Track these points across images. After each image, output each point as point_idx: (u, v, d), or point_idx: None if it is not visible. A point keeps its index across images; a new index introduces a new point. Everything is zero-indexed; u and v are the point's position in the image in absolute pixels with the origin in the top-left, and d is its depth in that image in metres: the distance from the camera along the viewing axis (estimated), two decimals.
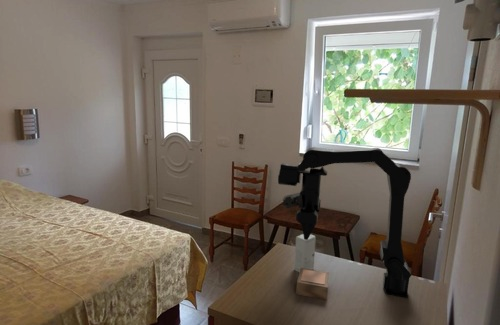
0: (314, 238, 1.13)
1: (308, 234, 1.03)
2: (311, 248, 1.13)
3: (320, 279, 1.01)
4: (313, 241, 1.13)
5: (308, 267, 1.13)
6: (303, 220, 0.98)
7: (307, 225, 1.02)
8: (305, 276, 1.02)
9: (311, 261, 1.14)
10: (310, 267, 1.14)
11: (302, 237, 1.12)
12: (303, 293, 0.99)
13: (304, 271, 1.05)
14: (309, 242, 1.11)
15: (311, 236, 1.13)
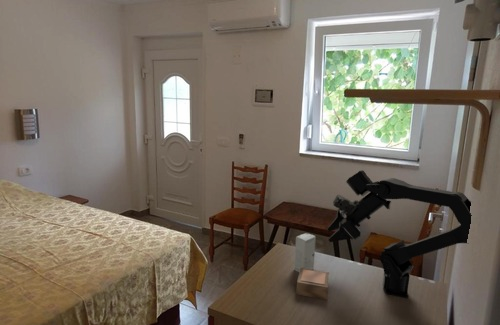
0: (314, 238, 1.13)
1: (335, 239, 1.06)
2: (311, 248, 1.13)
3: (320, 279, 1.01)
4: (313, 241, 1.13)
5: (308, 267, 1.13)
6: (348, 230, 1.00)
7: (342, 233, 1.04)
8: (305, 276, 1.02)
9: (311, 261, 1.14)
10: (310, 267, 1.14)
11: (302, 237, 1.12)
12: (303, 293, 0.99)
13: (304, 271, 1.05)
14: (309, 242, 1.11)
15: (311, 236, 1.13)
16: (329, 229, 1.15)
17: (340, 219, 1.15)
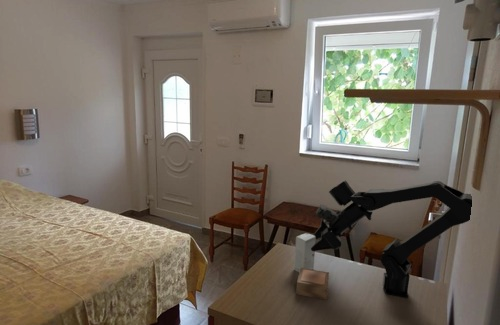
0: (314, 238, 1.13)
1: (317, 249, 1.07)
2: None
3: (320, 279, 1.01)
4: (313, 241, 1.13)
5: (308, 267, 1.13)
6: (329, 240, 1.02)
7: (324, 243, 1.06)
8: (305, 276, 1.02)
9: (311, 261, 1.14)
10: (310, 267, 1.14)
11: (302, 237, 1.12)
12: (303, 293, 0.99)
13: (304, 271, 1.05)
14: (309, 242, 1.11)
15: (311, 236, 1.13)
16: None
17: (324, 228, 1.16)
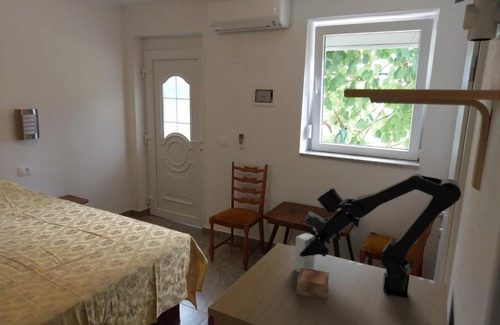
0: None
1: (306, 254, 1.09)
2: None
3: (320, 279, 1.01)
4: None
5: (308, 267, 1.13)
6: (316, 247, 1.03)
7: (312, 248, 1.08)
8: (305, 276, 1.02)
9: (311, 261, 1.14)
10: (310, 267, 1.14)
11: (302, 237, 1.12)
12: (303, 293, 0.99)
13: (304, 271, 1.05)
14: (309, 242, 1.11)
15: (311, 236, 1.13)
16: None
17: None
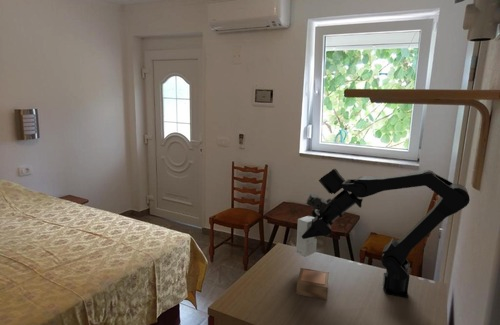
0: None
1: (308, 236, 1.08)
2: None
3: (320, 279, 1.01)
4: None
5: (310, 250, 1.11)
6: (319, 227, 1.01)
7: (314, 230, 1.06)
8: (305, 276, 1.02)
9: (313, 244, 1.12)
10: (312, 250, 1.12)
11: (304, 219, 1.10)
12: (303, 293, 0.99)
13: (304, 271, 1.05)
14: (311, 224, 1.09)
15: None
16: None
17: None
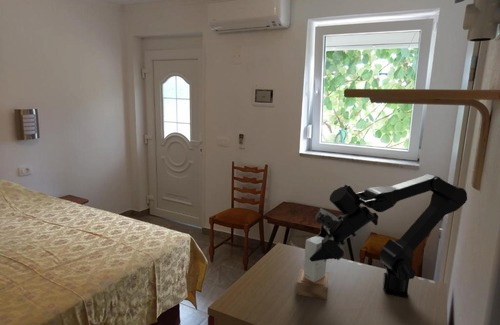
0: None
1: (317, 259, 0.96)
2: None
3: (320, 279, 1.01)
4: None
5: (319, 274, 1.00)
6: (330, 249, 0.90)
7: (324, 252, 0.94)
8: None
9: (323, 267, 1.01)
10: (321, 274, 1.01)
11: (313, 240, 0.99)
12: (303, 293, 0.99)
13: None
14: (320, 246, 0.99)
15: None
16: None
17: (324, 235, 1.05)
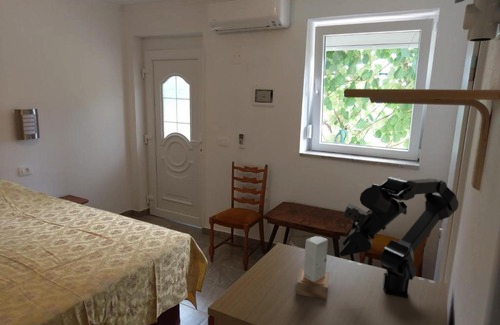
0: (326, 241, 1.01)
1: (346, 253, 0.95)
2: (323, 253, 1.00)
3: (320, 279, 1.01)
4: (325, 244, 1.01)
5: (319, 274, 1.00)
6: (356, 241, 0.90)
7: (353, 246, 0.94)
8: None
9: (323, 267, 1.01)
10: (321, 274, 1.01)
11: (313, 240, 0.99)
12: (303, 293, 0.99)
13: None
14: (320, 246, 0.99)
15: (323, 239, 1.00)
16: (344, 243, 1.05)
17: None
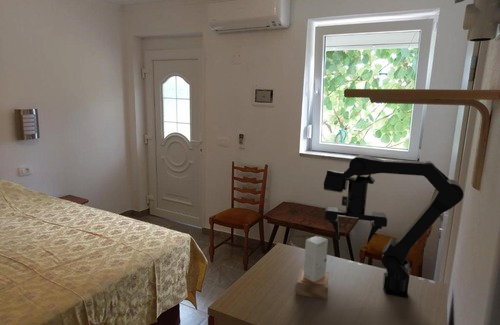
0: (326, 241, 1.01)
1: None
2: (323, 253, 1.00)
3: (320, 279, 1.01)
4: (325, 244, 1.01)
5: (319, 274, 1.00)
6: None
7: None
8: None
9: (323, 267, 1.01)
10: (321, 274, 1.01)
11: (313, 240, 0.99)
12: (303, 293, 0.99)
13: None
14: (320, 246, 0.99)
15: (323, 239, 1.00)
16: None
17: (370, 226, 1.06)
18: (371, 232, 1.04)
